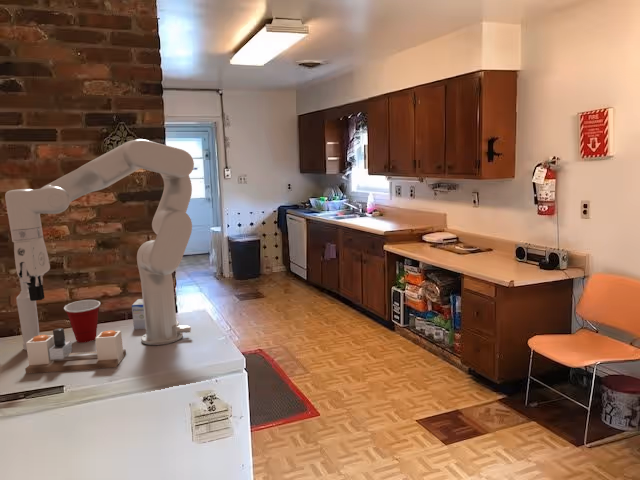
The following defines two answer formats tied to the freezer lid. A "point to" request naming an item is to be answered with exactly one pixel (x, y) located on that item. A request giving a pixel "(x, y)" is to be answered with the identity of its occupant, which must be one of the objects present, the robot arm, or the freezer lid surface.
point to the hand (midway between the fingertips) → (37, 299)
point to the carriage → (60, 345)
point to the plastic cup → (83, 319)
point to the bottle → (27, 315)
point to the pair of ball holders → (105, 347)
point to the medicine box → (138, 315)
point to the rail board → (74, 363)
